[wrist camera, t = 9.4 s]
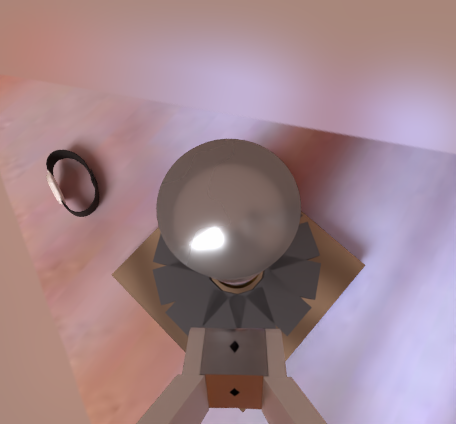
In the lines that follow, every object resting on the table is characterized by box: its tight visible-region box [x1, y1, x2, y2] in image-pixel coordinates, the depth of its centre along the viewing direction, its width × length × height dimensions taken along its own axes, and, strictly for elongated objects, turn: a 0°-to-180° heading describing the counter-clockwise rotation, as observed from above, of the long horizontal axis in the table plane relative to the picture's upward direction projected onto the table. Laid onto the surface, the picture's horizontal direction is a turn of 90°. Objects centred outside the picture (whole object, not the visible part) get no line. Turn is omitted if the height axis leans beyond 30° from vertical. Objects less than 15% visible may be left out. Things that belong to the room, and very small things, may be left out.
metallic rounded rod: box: [157, 139, 301, 289], centre depth 18 cm, size 3×3×24 cm
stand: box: [112, 211, 365, 412], centre depth 31 cm, size 17×17×2 cm
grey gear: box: [153, 214, 321, 336], centre depth 22 cm, size 11×11×2 cm
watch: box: [46, 150, 99, 217], centre depth 33 cm, size 8×5×4 cm, turn 30°
